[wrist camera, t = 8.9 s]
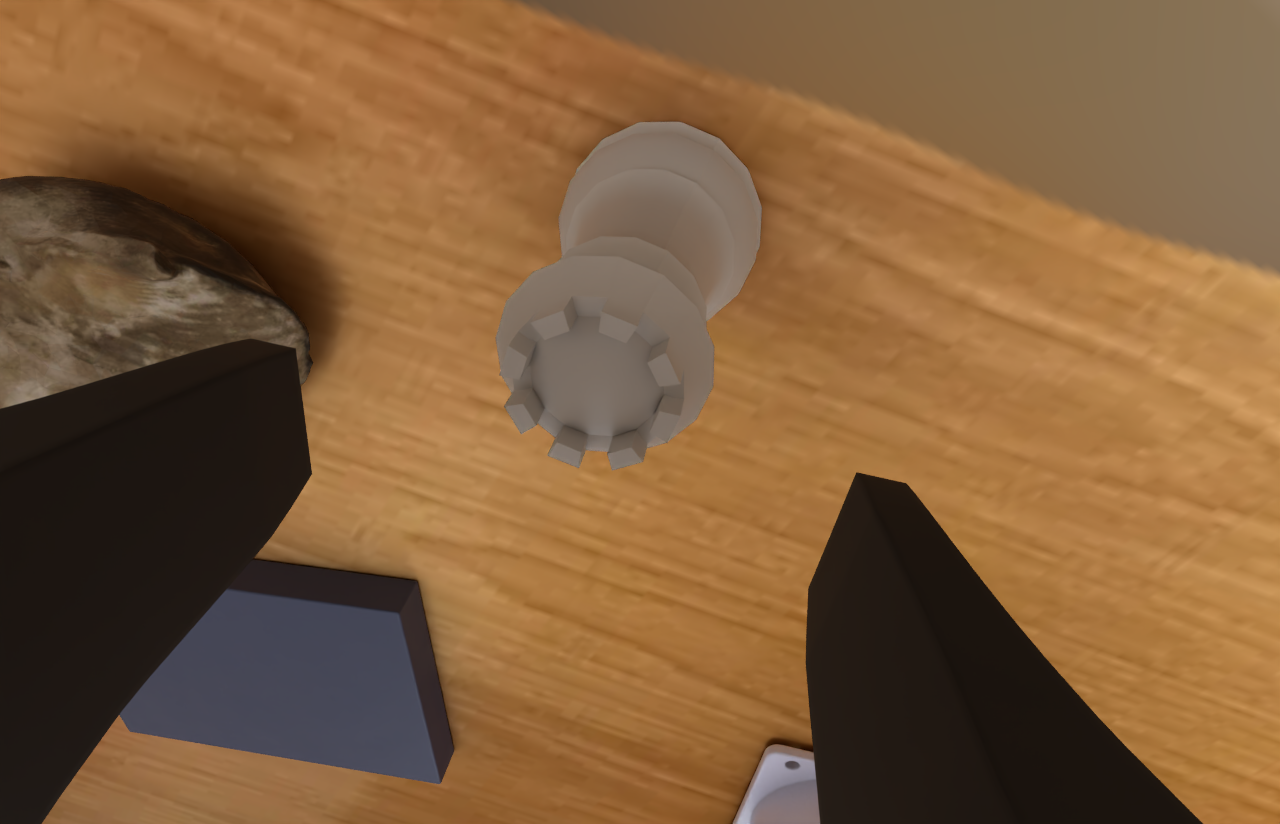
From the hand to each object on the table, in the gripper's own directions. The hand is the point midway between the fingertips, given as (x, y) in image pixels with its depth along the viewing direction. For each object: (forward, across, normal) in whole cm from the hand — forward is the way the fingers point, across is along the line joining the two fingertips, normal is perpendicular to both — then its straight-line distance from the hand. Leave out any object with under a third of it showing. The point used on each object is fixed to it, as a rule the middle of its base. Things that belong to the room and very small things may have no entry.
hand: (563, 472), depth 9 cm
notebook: (+9, +12, +19) cm, 25 cm away
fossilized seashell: (+9, +13, +4) cm, 17 cm away
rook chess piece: (+9, 0, -1) cm, 9 cm away
